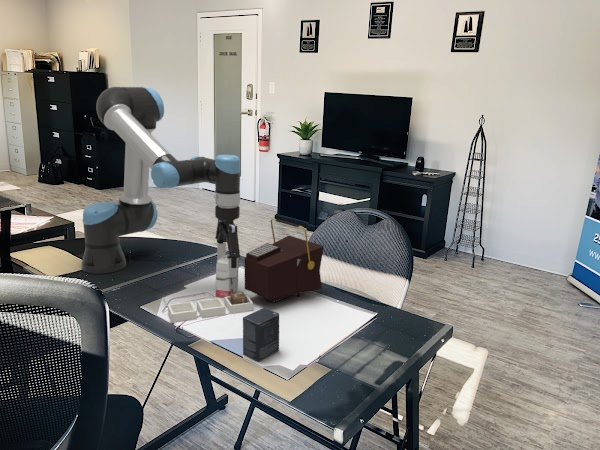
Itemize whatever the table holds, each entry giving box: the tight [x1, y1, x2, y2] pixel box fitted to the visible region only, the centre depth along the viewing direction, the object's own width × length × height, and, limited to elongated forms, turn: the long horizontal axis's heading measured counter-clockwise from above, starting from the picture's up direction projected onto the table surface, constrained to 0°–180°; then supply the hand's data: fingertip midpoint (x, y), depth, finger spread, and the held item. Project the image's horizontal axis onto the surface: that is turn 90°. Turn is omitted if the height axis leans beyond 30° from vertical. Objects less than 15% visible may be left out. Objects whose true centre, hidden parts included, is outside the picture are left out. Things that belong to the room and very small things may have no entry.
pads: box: [161, 297, 168, 308], centre depth 160 cm, size 7×24×1 cm, turn 113°
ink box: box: [215, 254, 240, 299], centre depth 161 cm, size 9×5×12 cm, turn 168°
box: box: [242, 307, 280, 363], centre depth 126 cm, size 8×6×11 cm
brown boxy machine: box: [244, 218, 325, 304], centre depth 159 cm, size 16×23×25 cm
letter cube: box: [230, 291, 247, 305], centre depth 152 cm, size 4×4×4 cm
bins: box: [167, 293, 254, 325], centre depth 149 cm, size 7×24×3 cm, turn 113°
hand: (226, 269), depth 161 cm, fingers open, 13 cm apart
